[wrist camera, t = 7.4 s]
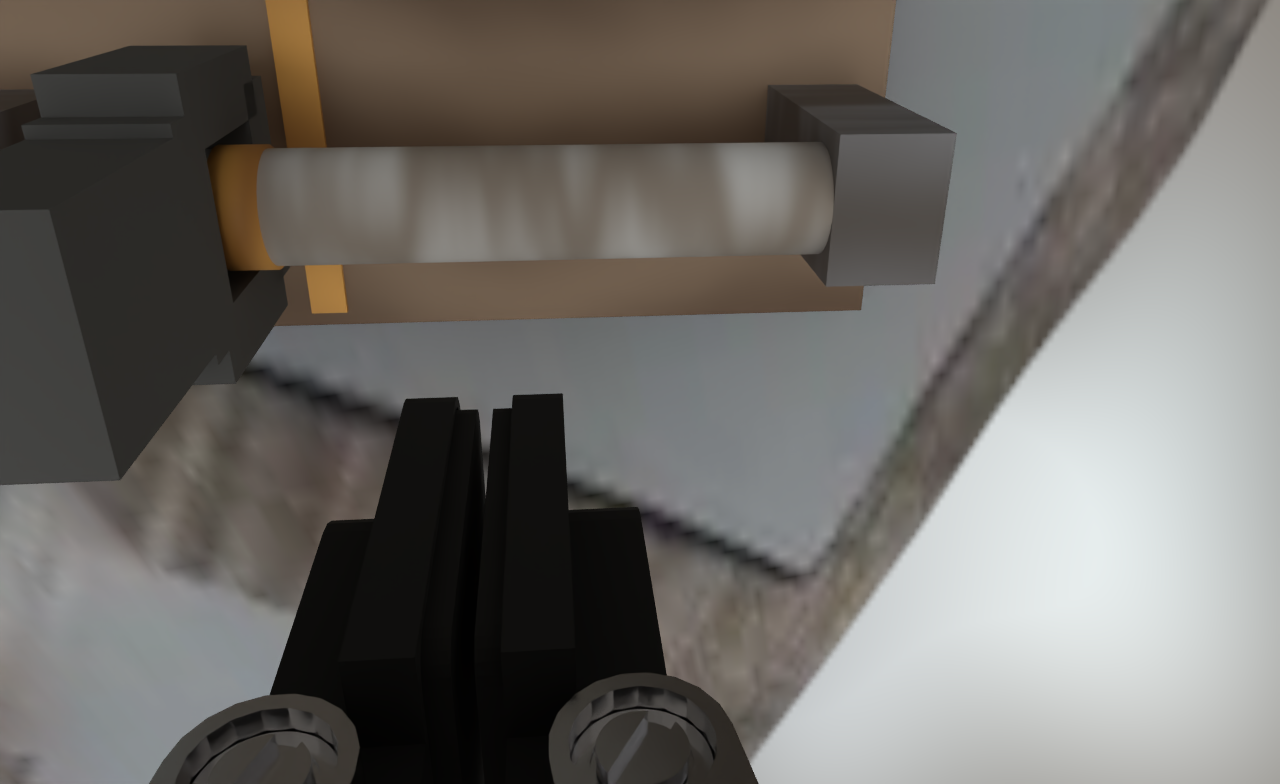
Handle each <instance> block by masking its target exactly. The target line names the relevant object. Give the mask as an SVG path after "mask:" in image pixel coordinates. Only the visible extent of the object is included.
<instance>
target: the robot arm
mask: <svg viewBox="0 0 1280 784" xmlns="http://www.w3.org/2000/svg"><path fill="white" fill-rule="evenodd" d="M149 784H758V781H757V779H756V777H755V775H754V772H753V770H752V767H751V765H750V763H749V760H748V758H747V756H746V754H745V751H744V749H743V747H742V744H741V742H740V740H739V737H738V735H737V733H736V730H735V728H734V726H733V724H732V722H731V721H730V719H729V717H728V716H727V714H726V713H725V711H724V710H723V708H722V707H721V705H720V704H719V703H718V702H717V701H716V700H714V699H713V698H712V697H711V696H709V695H708V694H707V693H706V692H704V691H703V690H702V689H701V688H699V687H697V686H695V685H692V684H690V683H688V682H685V681H683V680H681V679H679V678H676V677H672V676H667V674H666V668H665V662H664V656H663V650H662V644H661V637H660V631H659V625H658V619H657V613H656V607H655V601H654V595H653V589H652V583H651V577H650V570H649V564H648V558H647V552H646V546H645V540H644V534H643V528H642V522H641V516H640V512H639V509H638V507H627V508H605V509H583V510H568V491H567V472H566V452H565V432H564V412H563V394H534V395H513V400H512V408H506V409H493V418H492V430H491V442H490V454H489V466H488V478H487V490H486V498H485V484H484V471H483V458H482V445H481V432H480V420H479V412H478V410H460V404H459V400H458V397H447V398H418V399H406V400H405V402H404V405H403V409H402V413H401V417H400V421H399V425H398V429H397V433H396V436H395V440H394V444H393V448H392V452H391V456H390V460H389V464H388V468H387V472H386V476H385V479H384V483H383V487H382V491H381V495H380V499H379V503H378V507H377V511H376V515H375V518H374V519H361V520H338V521H331V522H329V523H328V524H327V526H326V528H325V530H324V532H323V535H322V538H321V541H320V544H319V547H318V550H317V553H316V556H315V559H314V562H313V565H312V568H311V571H310V574H309V577H308V580H307V583H306V586H305V589H304V592H303V595H302V598H301V601H300V604H299V607H298V610H297V614H296V617H295V620H294V623H293V626H292V629H291V632H290V635H289V638H288V641H287V644H286V647H285V650H284V653H283V656H282V659H281V662H280V665H279V668H278V671H277V674H276V677H275V680H274V683H273V686H272V689H271V692H270V695H266V696H262V697H259V698H255V699H252V700H248V701H244V702H241V703H237V704H235V705H233V706H231V707H229V708H227V709H225V710H223V711H221V712H219V713H217V714H215V715H213V716H211V717H209V718H207V719H205V720H204V721H203V722H202V723H200V724H199V725H198V726H196V727H195V728H194V729H193V730H191V731H190V732H189V733H187V734H186V735H185V736H184V737H182V738H181V739H180V741H179V742H178V743H177V744H176V746H175V747H174V748H173V749H172V751H171V752H170V753H169V754H168V755H167V757H166V758H165V759H164V760H163V762H162V763H161V765H160V767H159V768H158V770H157V771H156V773H155V775H154V776H153V778H152V780H151V781H150V783H149Z"/></svg>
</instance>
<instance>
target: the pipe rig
mask: <svg viewBox="0 0 1280 784" xmlns="http://www.w3.org/2000/svg"><path fill="white" fill-rule="evenodd" d="M895 6H896V0H0V150H1V149H4V148H6V147H9V146H11V145H14V144H16V143H18V142H21V141H23V140H25V138H24V134H23V130H22V126H21V125H23V124H26V123H28V122H31V121H34V120H36V119H39V118H41V115H40V111H39V107H38V103H37V99H36V95H35V91H34V88H33V84H32V80H31V76H30V74H33V73H37V72H40V71H44V70H47V69H51V68H54V67H57V66H61V65H64V64H68V63H71V62H75V61H78V60H82V59H85V58H89V57H92V56H96V55H99V54H103V53H106V52H110V51H113V50H116V49H120V48H123V47H127V46H170V45H247V51H248V57H249V64H250V70H251V76H261V81H262V87H263V93H264V100H265V106H266V113H267V119H268V125H269V132H270V138H271V145H272V146H271V145H270V144H243V145H216V146H215V147H214V148H213V149H205V154H206V159H207V164H208V170H209V175H210V181H211V186H212V191H213V197H214V202H215V207H216V213H217V218H218V224H219V229H220V234H221V240H222V245H223V250H224V256H225V261H226V267H227V270H229V271H248V270H280V269H282V268H283V267H284V266H291V267H290V268H289V270H288V271H287V272H286V274H285V275H284V282H285V289H286V295H287V301H288V306H287V307H286V309H285V310H284V312H283V313H282V315H281V316H280V318H279V319H278V321H277V322H276V324H275V325H274V326H291V325H328V324H365V323H402V322H439V321H475V320H512V319H549V318H586V317H623V316H659V315H696V314H733V313H770V312H807V311H843V310H861V305H862V296H863V288H864V286H872V285H913V284H935V278H936V271H937V265H938V258H939V251H940V244H941V237H942V231H943V224H944V217H945V210H946V203H947V197H948V190H949V183H950V176H951V169H952V163H953V156H954V149H955V142H956V135H957V133H955V132H953V131H951V130H949V129H947V128H945V127H943V126H941V125H939V124H937V123H935V122H933V121H931V120H929V119H927V118H925V117H923V116H921V115H918V114H916V113H914V112H912V111H910V110H908V109H906V108H904V107H902V106H900V105H898V104H896V103H894V102H892V101H890V100H888V99H886V98H885V94H886V85H887V76H888V67H889V59H890V50H891V41H892V32H893V23H894V14H895Z"/></svg>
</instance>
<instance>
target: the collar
mask: <svg viewBox="0 0 1280 784" xmlns="http://www.w3.org/2000/svg"><path fill="white" fill-rule="evenodd" d="M30 76H31V80H32V84H33V88H34V91H35V95H36V99H37V103H38V107H39V111H40V115H41V118H39V119H36V120H34V121H31V122H28V123H26V124H23V125H21V126H22V130H23V134H24V138H25V140H23V141H21V142H18V143H16V144H14V145H11V146H9V147H6V148H4V149H1V150H0V485H14V484H39V483H64V482H89V481H114V480H121V478H122V477H123V476H124V474H125V473H126V472H127V470H128V469H129V468H130V466H131V465H132V464H133V462H134V461H135V460H136V459H137V457H138V456H139V455H140V453H141V452H142V451H143V449H144V448H145V447H146V445H147V444H148V443H149V441H150V440H151V439H152V437H153V436H154V435H155V433H156V432H157V431H158V430H159V428H160V427H161V426H162V424H163V423H164V422H165V420H166V419H167V418H168V416H169V415H170V414H171V412H172V411H173V410H174V408H175V407H176V406H177V404H178V403H179V402H180V401H181V399H182V398H183V397H184V395H185V394H186V393H187V391H188V390H189V389H190V387H191V386H192V385H210V384H236V382H237V381H238V379H239V378H240V376H241V375H242V373H243V372H244V370H245V369H246V367H247V366H248V364H249V363H250V361H251V360H252V358H253V357H254V355H255V354H256V352H257V351H258V349H259V348H260V346H261V345H262V343H263V342H264V340H265V339H266V337H267V336H268V334H269V333H270V331H271V330H272V328H273V327H274V325H275V324H276V322H277V321H278V319H279V318H280V316H281V315H282V313H283V312H284V310H285V309H286V307H287V306H288V301H287V295H286V289H285V282H284V275H285V274H286V272H287V271H288V270H289V268H290V267H291V266H284V267H283V268H282V269H280V270H248V271H229V270H227V267H226V261H225V256H224V250H223V245H222V240H221V234H220V229H219V224H218V218H217V213H216V207H215V202H214V197H213V191H212V186H211V181H210V175H209V170H208V164H207V159H206V154H205V149H213V148H214V147H215V146H216V145H243V144H270V145H271V138H270V132H269V125H268V119H267V113H266V106H265V100H264V93H263V87H262V81H261V76H251V70H250V64H249V57H248V51H247V45H170V46H127V47H123V48H120V49H116V50H113V51H110V52H106V53H103V54H99V55H96V56H92V57H89V58H85V59H82V60H78V61H75V62H71V63H68V64H64V65H61V66H57V67H54V68H51V69H47V70H44V71H40V72H37V73H33V74H30ZM271 146H272V145H271Z"/></svg>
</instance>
